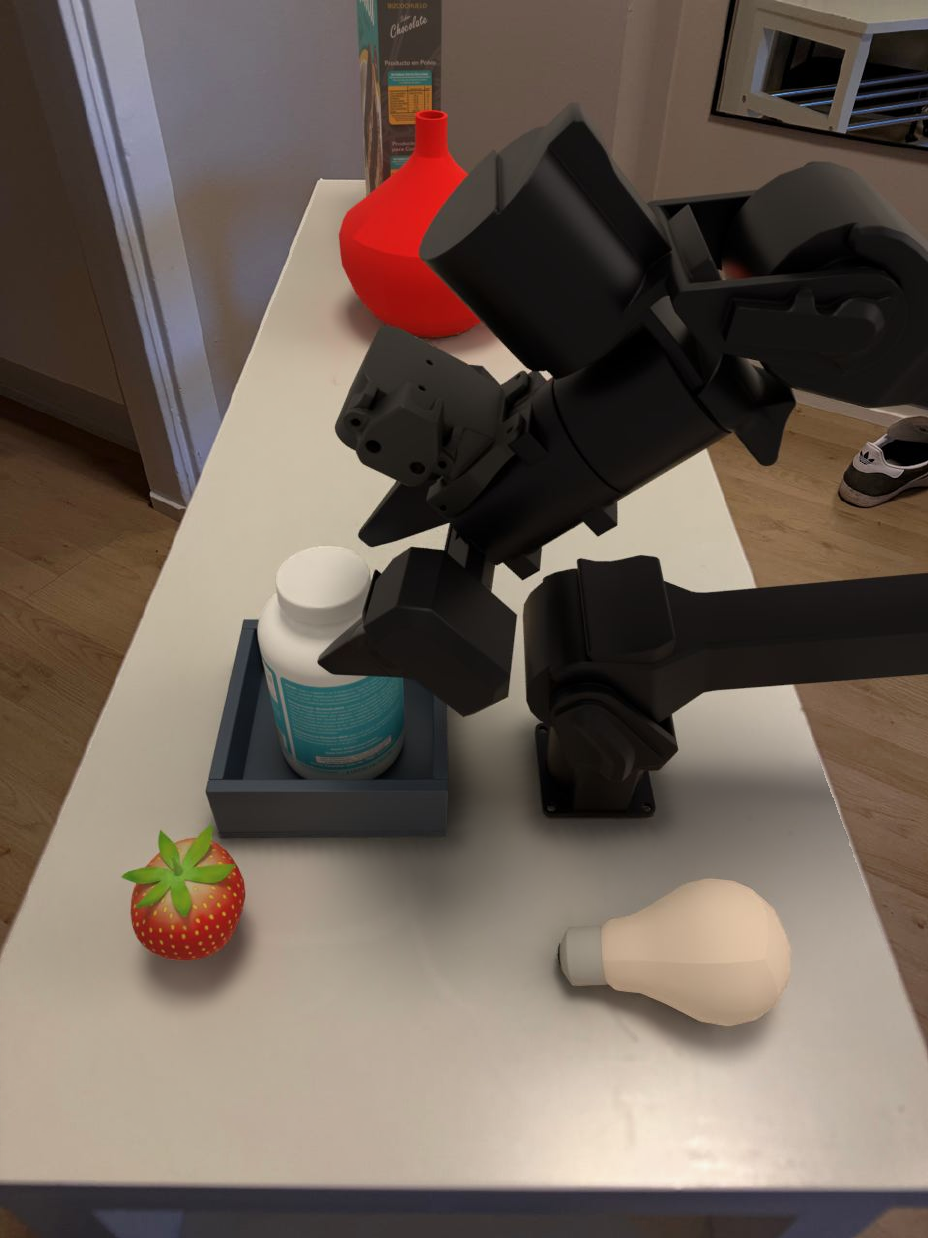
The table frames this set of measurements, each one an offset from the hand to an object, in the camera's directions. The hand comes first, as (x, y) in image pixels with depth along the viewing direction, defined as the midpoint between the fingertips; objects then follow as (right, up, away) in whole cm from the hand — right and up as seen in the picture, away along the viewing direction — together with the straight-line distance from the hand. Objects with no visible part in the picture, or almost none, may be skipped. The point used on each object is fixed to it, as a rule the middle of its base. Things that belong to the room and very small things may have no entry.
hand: (345, 598), depth 44 cm
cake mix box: (-2, +45, +62) cm, 77 cm away
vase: (+2, +31, +49) cm, 58 cm away
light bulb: (+16, -19, 0) cm, 25 cm away
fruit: (-7, -17, +1) cm, 19 cm away
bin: (-1, -9, +9) cm, 13 cm away
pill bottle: (-1, -9, +9) cm, 12 cm away
